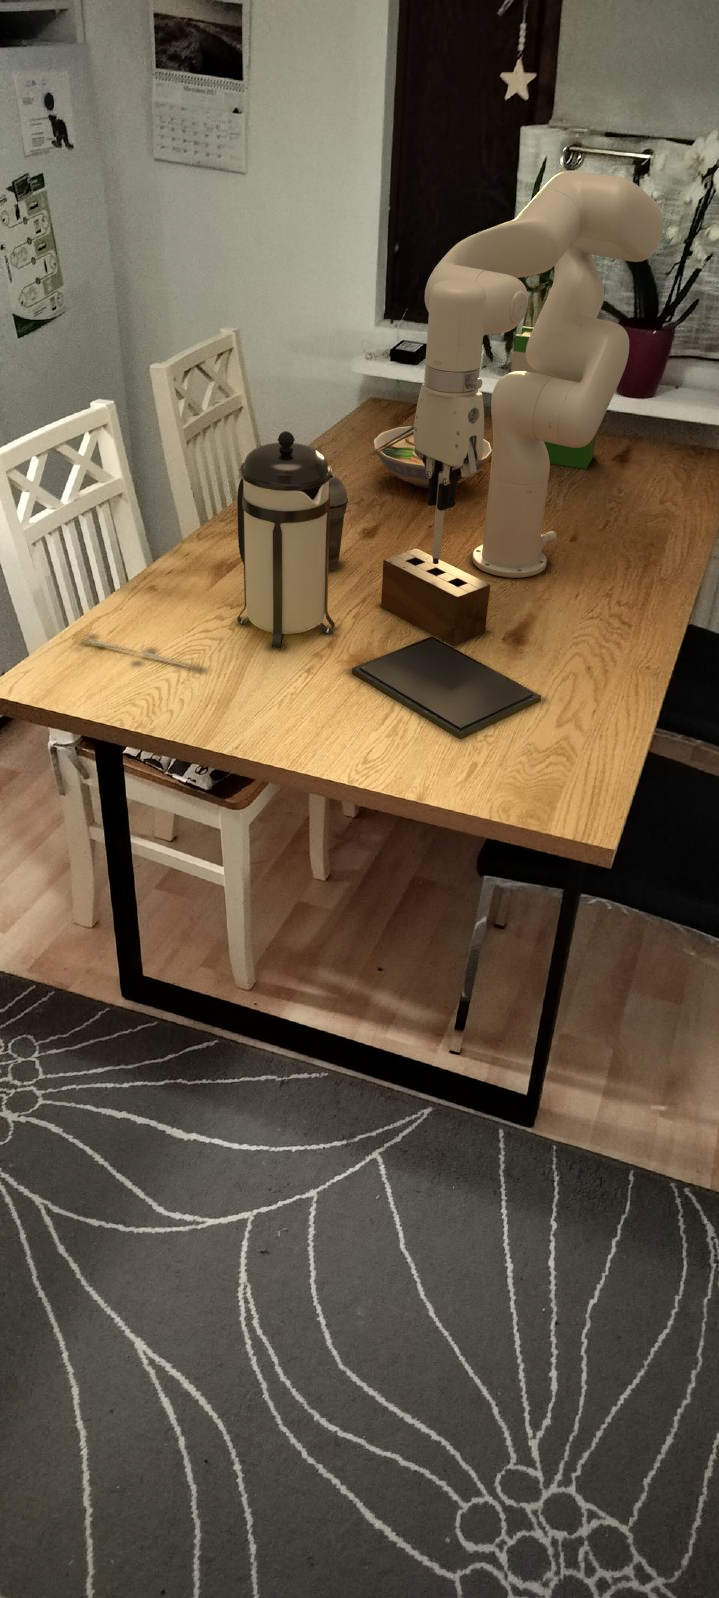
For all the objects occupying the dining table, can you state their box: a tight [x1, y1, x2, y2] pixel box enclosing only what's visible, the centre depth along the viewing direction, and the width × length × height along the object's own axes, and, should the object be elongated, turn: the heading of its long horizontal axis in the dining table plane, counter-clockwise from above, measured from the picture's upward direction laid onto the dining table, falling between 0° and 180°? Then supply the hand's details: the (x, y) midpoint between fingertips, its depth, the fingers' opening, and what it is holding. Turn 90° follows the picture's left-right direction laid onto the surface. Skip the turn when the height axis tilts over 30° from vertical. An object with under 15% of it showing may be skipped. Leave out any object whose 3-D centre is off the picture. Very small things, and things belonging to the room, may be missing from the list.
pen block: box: [380, 548, 491, 646], centre depth 183 cm, size 7×16×8 cm, turn 41°
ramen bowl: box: [369, 424, 493, 489], centre depth 230 cm, size 25×23×8 cm
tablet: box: [351, 636, 542, 739], centre depth 168 cm, size 22×16×1 cm
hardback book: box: [510, 325, 598, 470], centre depth 239 cm, size 18×7×24 cm, turn 71°
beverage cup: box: [317, 447, 349, 572], centre depth 194 cm, size 7×7×20 cm
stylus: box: [84, 637, 193, 668], centre depth 172 cm, size 4×1×19 cm
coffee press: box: [236, 430, 336, 649], centre depth 173 cm, size 17×16×30 cm
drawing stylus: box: [431, 471, 446, 564], centre depth 175 cm, size 1×1×14 cm
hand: (441, 505), depth 174 cm, fingers closed on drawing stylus, 1 cm apart
